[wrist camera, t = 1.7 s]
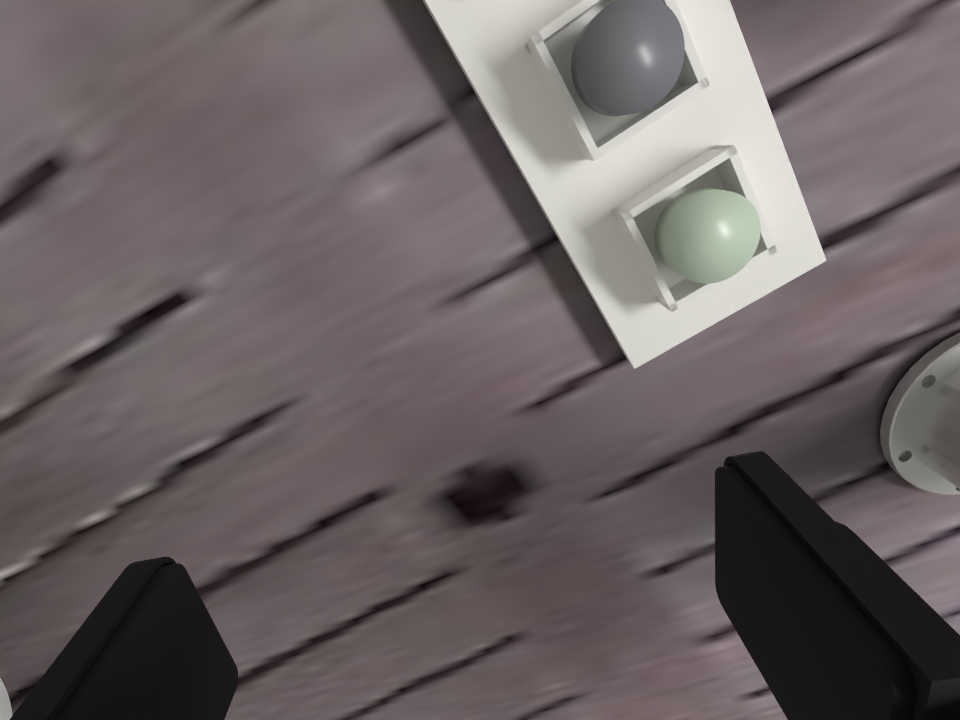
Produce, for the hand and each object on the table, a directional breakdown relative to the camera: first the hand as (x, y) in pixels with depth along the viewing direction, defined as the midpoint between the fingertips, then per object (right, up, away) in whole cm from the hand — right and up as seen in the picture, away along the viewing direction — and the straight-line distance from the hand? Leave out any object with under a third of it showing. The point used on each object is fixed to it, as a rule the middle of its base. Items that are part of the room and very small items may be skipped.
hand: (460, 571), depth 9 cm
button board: (+7, +18, +17) cm, 26 cm away
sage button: (+11, +10, +18) cm, 24 cm away
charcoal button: (+7, +17, +15) cm, 24 cm away
